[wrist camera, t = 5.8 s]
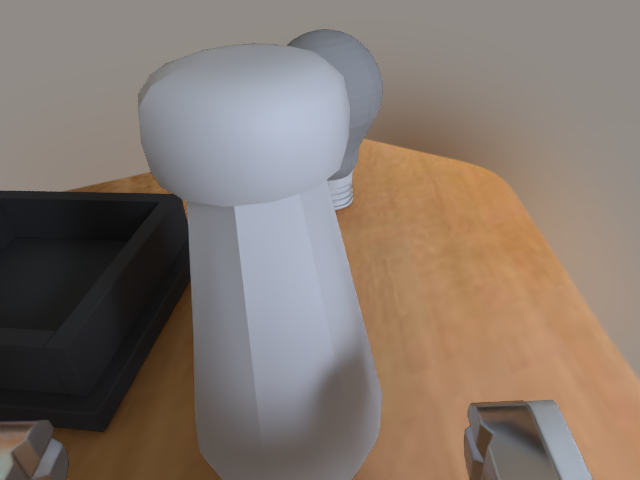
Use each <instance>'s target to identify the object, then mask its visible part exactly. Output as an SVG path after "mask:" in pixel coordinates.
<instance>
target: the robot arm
mask: <svg viewBox="0 0 640 480" xmlns="http://www.w3.org/2000/svg"><path fill="white" fill-rule="evenodd" d="M468 419H469V423H470V426H469V427H468V428H467V429H465V435H464V456H465V461H466V467H467V471H468V475H469V480H593V478H592V476H591V474H590V472H589V470H588V468H587V466H586V464H585V461H584V459H583V457H582V455H581V453H580V451H579V449H578V447H577V445H576V442H575V440H574V438H573V436H572V434H571V432H570V430H569V428H568V425H567V423H566V421H565V419H564V417H563V415H562V413H561V411H560V408H559V406H558V405H557V404H556V403H555V402H554V401H553V400H537V401H523V400H520V401H501V402H482V403H471V404H470V406H469V409H468ZM54 431H55V429H54V428H53V426H52V425H51V423H50V422H49V420H6V421H0V480H66V479H67V474H68V468H69V458H68V452H67V450H66V448H65V446H64V444H62V443H61V442H59V441H57V440H56V439H54V438H52V436H53V434H54Z"/></svg>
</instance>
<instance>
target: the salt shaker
mask: <svg viewBox="0 0 640 480" xmlns="http://www.w3.org/2000/svg"><path fill="white" fill-rule="evenodd" d="M138 111H139V123H140V134H141V143H142V147H143V149H144V153H145V156H146V159H147V162H148V165H149V168H150V171H151V173H152V175H153V176H154V177H155V179H156V180H157V182H158V183H159V185H160V186H161V187H163V188H164V189H166V190H168V191H169V192H171V193H173V194H174V195H176V196H178V197H179V198H181V199H182V200H184V201H187V210H188V232H189V253H190V274H191V295H192V316H193V344H194V404H195V421H196V430H197V438H198V447H199V451H200V452H201V454H202V456H203V457H204V459H205V460H206V461H207V463H208V464H209V465H210V466H211V467H212V468H213V470H214V471H215V472H216V473H217V474H218V476H219V477H220V478H221V479H222V480H352V479H353V477H354V476H355V475H356V474H357V472H358V471H359V469H360V467H361V466H362V464H363V463H364V461H365V459H366V458H367V456H368V455H369V453H370V451H371V450H372V448H373V447H374V445H375V443H376V442H377V439H378V435H379V431H380V419H381V404H382V391H381V387H380V383H379V379H378V376H377V372H376V368H375V364H374V360H373V356H372V352H371V348H370V345H369V341H368V337H367V333H366V329H365V325H364V321H363V318H362V314H361V310H360V306H359V302H358V298H357V294H356V290H355V287H354V283H353V279H352V275H351V271H350V267H349V263H348V259H347V256H346V252H345V248H344V244H343V240H342V236H341V232H340V229H339V225H338V221H337V217H336V213H335V209H334V205H333V201H332V198H331V194H330V190H329V186H328V182H327V179H328V178H329V177H331V176H332V175H333V174H335V173H336V172H337V171H338V170H339V169H340V166H341V163H342V160H343V157H344V153H345V150H346V146H347V142H348V139H349V123H350V105H349V100H348V95H347V90H346V86H345V81H344V76H343V75H342V74H340V73H339V72H338V71H337V70H336V69H335V68H334V67H333V66H332V65H331V64H330V63H329V62H327V61H326V60H325V59H324V58H322V57H321V56H320V55H318V54H317V53H316V52H314V51H310V50H305V49H300V48H296V47H291V46H284V45H277V44H242V45H232V46H224V47H218V48H213V49H207V50H202V51H199V52H196V53H193V54H190V55H188V56H185V57H182V58H179V59H177V60H174V61H171V62H169V63H166V64H164V65H163V66H162V67H160V68H159V69H158V70H156V71H155V72H153V73H152V74H151V75H150V76H149V78H148V79H147V81H146V83H145V84H144V85H143V87H142V89H141V90H140V92H139V93H138Z"/></svg>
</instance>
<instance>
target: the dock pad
mask: <svg viewBox="0 0 640 480" xmlns="http://www.w3.org/2000/svg"><path fill="white" fill-rule="evenodd" d="M190 278H191V274H190V253H189V232H188V223H187V219H186V215H185V211H184V207H183V202H182V199H181V198H179V197H178V196H176V195H174V194H148V193H96V192H45V191H0V421H6V420H49V422H50V423H51V425H52V426H53V427H64V428H74V429H84V430H94V431H105V429H106V428H107V426H108V424H109V422H110V421H111V419H112V417H113V415H114V413H115V412H116V410H117V408H118V406H119V405H120V403H121V401H122V399H123V397H124V396H125V394H126V392H127V390H128V389H129V387H130V385H131V383H132V381H133V380H134V378H135V376H136V374H137V373H138V371H139V369H140V367H141V365H142V364H143V362H144V360H145V358H146V357H147V355H148V353H149V351H150V350H151V348H152V346H153V344H154V342H155V341H156V339H157V337H158V335H159V334H160V332H161V330H162V328H163V326H164V325H165V323H166V321H167V319H168V318H169V316H170V314H171V312H172V310H173V309H174V307H175V305H176V303H177V302H178V300H179V298H180V296H181V294H182V293H183V291H184V289H185V287H186V286H187V284H188V282H189V280H190Z"/></svg>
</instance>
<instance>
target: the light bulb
mask: <svg viewBox="0 0 640 480" xmlns="http://www.w3.org/2000/svg"><path fill="white" fill-rule="evenodd" d="M287 46H291V47H296V48H300V49H305V50H310V51H314V52H316V53H317V54H318V55H320V56H321V57H322V58H324V59H325V60H326V61H327V62H329V63H330V64H331V65H332V66H333V67H334V68H335V69H336V70H337V71H338V72H339V73H340V74H342V75H343V76H344V81H345V86H346V90H347V95H348V100H349V105H350V123H349V139H348V142H347V146H346V150H345V153H344V157H343V160H342V163H341V166H340V169H339V170H338V171H337V172H336V173H335V174H333V175H332V176H331V177H329V178H328V179H327V182H328V186H329V190H330V194H331V198H332V201H333V205H334V209H335V210H338V209H341V208H344V207H346V206H348V205H350V204H351V203H352V201H353V195H352V194H353V191H352V187H353V186H352V173H353V169H354V168H355V166H356V163H357V159H358V150H359V147H360V144H361V143H362V141H363V139H364V137H365V135H366V133H367V132H368V130H369V128H370V127H371V125H372V123H373V121H374V119H375V117H376V116H377V114H378V111H379V108H380V104H381V100H382V77H381V73H380V70H379V67H378V65H377V63H376V61H375V60H374V58H373V57H372V55H371V54H370V52H369V51H368V50H367V49H366V48H365V46H364V45H363V44H362V43H361V42H359V41H358V40H357V39H355V38H354V37H352V36H351V35H348V34H346V33H343V32H340V31H335V30H316V31H312V32H308V33H305V34H303V35H301V36H299V37H297V38H295V39H294V40H292V41H291V42H290V43H289V44H288V45H287Z"/></svg>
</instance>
